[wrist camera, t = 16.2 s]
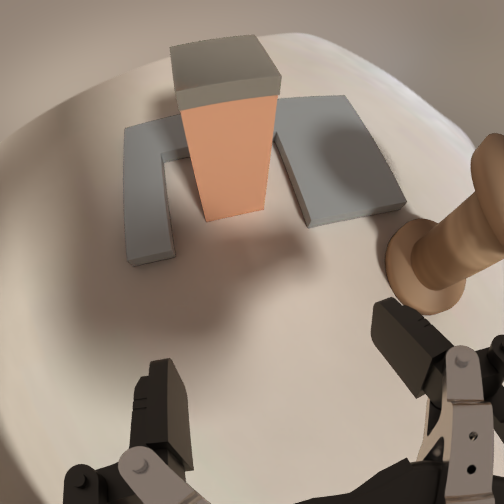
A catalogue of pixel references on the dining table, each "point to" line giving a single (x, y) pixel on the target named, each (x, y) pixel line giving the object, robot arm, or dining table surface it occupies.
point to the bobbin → (452, 240)
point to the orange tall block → (227, 119)
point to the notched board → (295, 160)
